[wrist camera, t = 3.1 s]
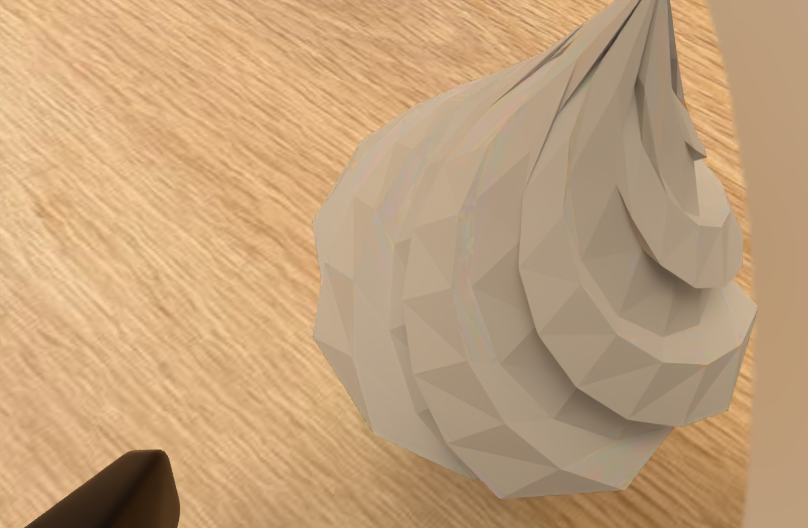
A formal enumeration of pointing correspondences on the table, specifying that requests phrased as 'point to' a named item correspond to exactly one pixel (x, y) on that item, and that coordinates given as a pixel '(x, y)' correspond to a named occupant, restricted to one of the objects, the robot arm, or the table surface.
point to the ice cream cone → (538, 267)
